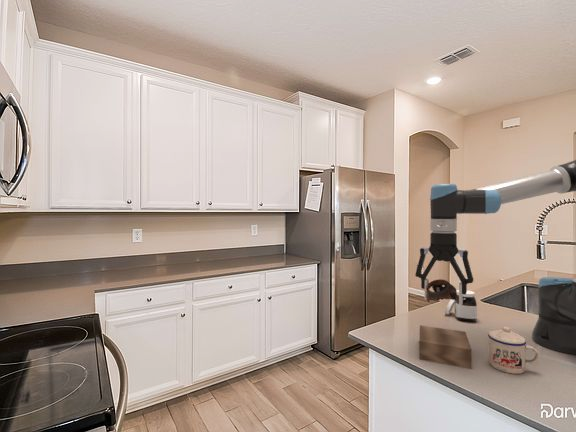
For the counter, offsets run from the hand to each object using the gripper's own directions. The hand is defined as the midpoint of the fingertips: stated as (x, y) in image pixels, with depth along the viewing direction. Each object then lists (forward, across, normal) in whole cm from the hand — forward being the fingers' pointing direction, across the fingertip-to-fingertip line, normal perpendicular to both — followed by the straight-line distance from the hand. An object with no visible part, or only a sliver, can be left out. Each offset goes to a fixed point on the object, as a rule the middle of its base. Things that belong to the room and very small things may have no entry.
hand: (443, 301), depth 96 cm
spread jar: (+17, +1, +40) cm, 44 cm away
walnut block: (+17, 0, 0) cm, 17 cm away
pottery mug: (0, 0, 0) cm, 1 cm away
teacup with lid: (+17, +18, +2) cm, 25 cm away
